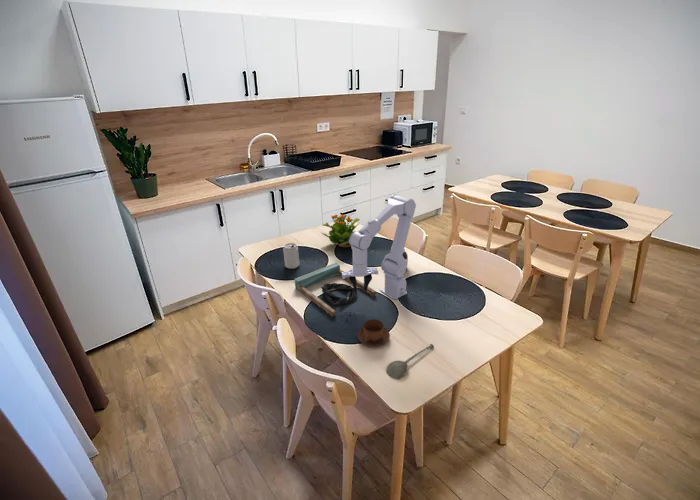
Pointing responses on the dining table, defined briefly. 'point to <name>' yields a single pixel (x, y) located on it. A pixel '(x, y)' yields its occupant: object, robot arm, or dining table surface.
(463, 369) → the dining table surface
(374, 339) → the cup and saucer
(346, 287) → the cable
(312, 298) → the guide channel
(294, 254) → the can
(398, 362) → the soupspoon
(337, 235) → the potted flower
